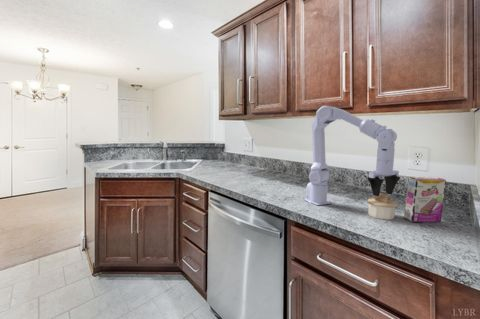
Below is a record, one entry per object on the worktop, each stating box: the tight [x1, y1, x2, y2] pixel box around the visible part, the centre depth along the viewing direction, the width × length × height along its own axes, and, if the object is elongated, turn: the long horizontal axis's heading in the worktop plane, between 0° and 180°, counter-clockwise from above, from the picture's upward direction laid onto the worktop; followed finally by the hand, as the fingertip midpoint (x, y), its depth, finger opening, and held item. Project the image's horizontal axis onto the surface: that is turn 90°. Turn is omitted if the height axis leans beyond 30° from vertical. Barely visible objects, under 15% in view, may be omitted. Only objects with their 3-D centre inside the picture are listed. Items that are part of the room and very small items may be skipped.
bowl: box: [367, 203, 396, 220], centre depth 100 cm, size 9×9×5 cm
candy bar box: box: [403, 176, 447, 223], centre depth 94 cm, size 11×5×16 cm, turn 92°
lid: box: [367, 192, 399, 208], centre depth 99 cm, size 10×10×4 cm
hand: (382, 194), depth 99 cm, fingers open, 7 cm apart
